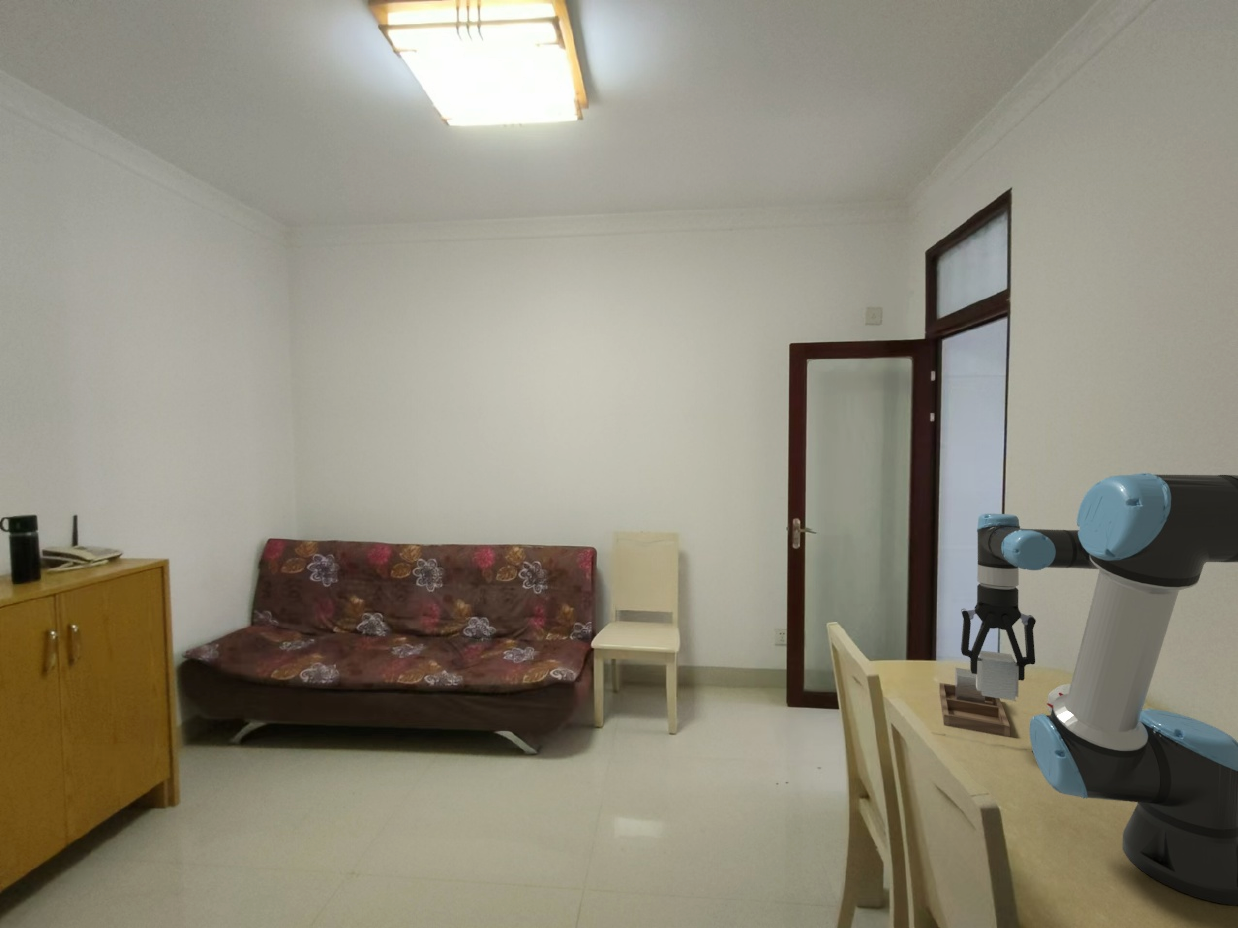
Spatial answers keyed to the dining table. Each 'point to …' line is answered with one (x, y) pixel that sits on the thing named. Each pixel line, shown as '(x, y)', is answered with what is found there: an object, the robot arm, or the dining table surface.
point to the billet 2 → (998, 675)
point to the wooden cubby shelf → (973, 713)
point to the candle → (1057, 694)
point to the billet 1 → (967, 686)
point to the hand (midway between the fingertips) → (996, 691)
